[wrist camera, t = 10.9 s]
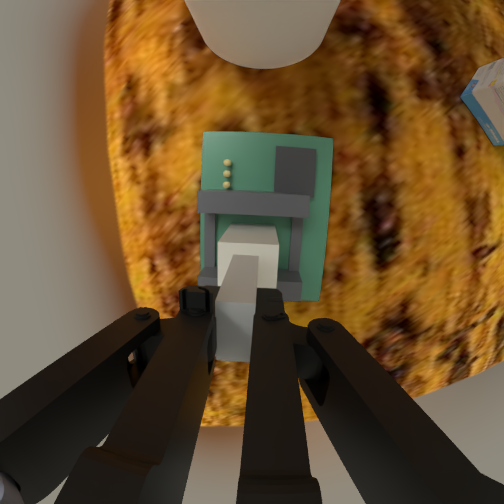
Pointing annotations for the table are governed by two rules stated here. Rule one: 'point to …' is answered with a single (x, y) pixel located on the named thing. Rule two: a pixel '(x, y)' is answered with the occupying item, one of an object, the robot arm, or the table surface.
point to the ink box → (488, 99)
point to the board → (261, 178)
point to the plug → (251, 250)
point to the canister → (263, 29)
